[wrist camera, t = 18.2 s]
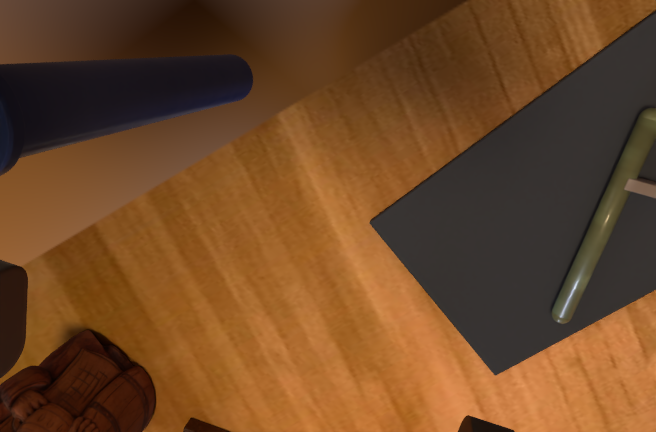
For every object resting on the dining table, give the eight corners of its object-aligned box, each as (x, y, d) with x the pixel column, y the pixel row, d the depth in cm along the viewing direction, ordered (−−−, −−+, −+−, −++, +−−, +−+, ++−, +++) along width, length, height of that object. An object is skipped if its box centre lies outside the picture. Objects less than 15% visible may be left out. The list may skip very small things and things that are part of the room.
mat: (494, 371, 42) (495, 375, 42) (370, 220, 41) (369, 223, 40) (847, 181, 33) (854, 183, 32) (703, -26, 31) (708, -27, 31)
